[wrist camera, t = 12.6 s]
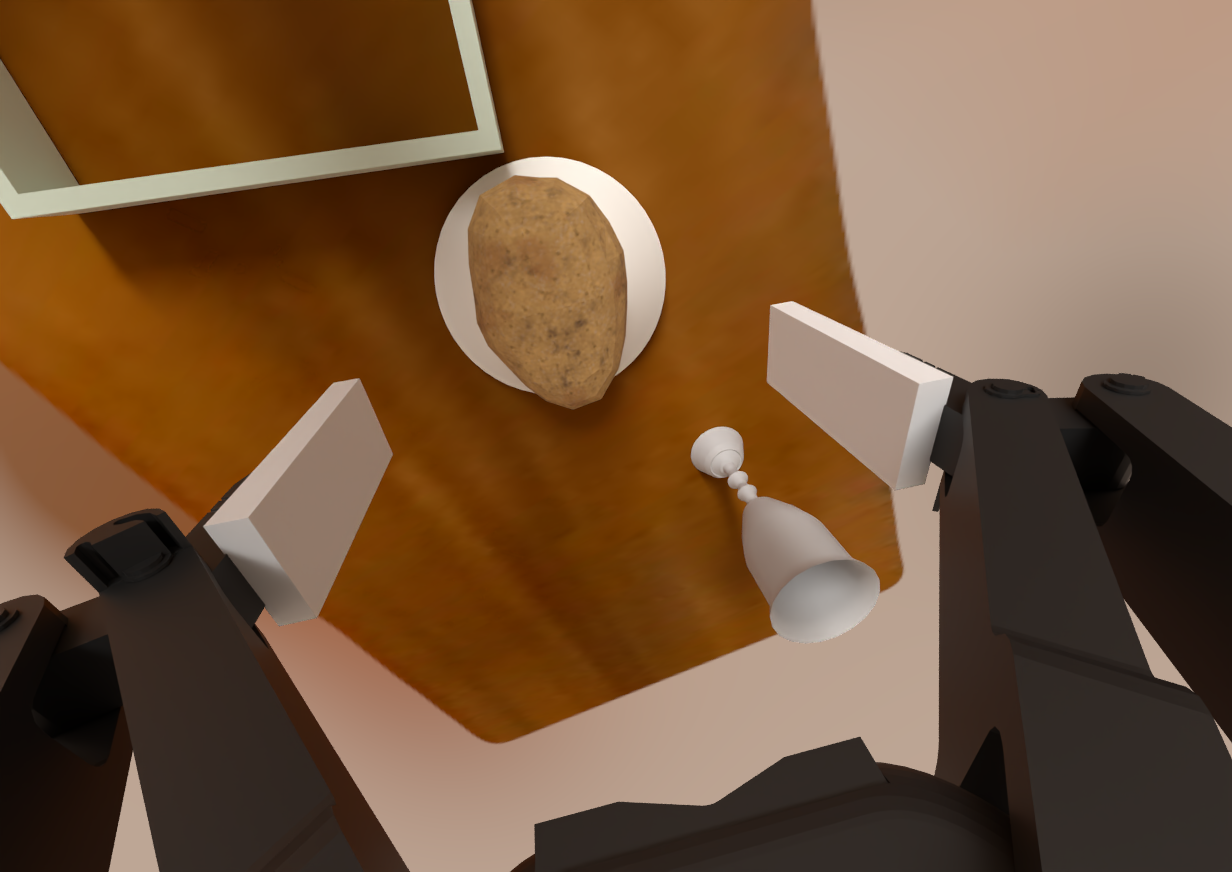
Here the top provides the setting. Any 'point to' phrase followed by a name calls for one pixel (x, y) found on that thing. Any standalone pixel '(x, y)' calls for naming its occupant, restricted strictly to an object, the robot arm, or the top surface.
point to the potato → (549, 287)
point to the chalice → (791, 554)
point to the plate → (626, 222)
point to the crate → (44, 186)
